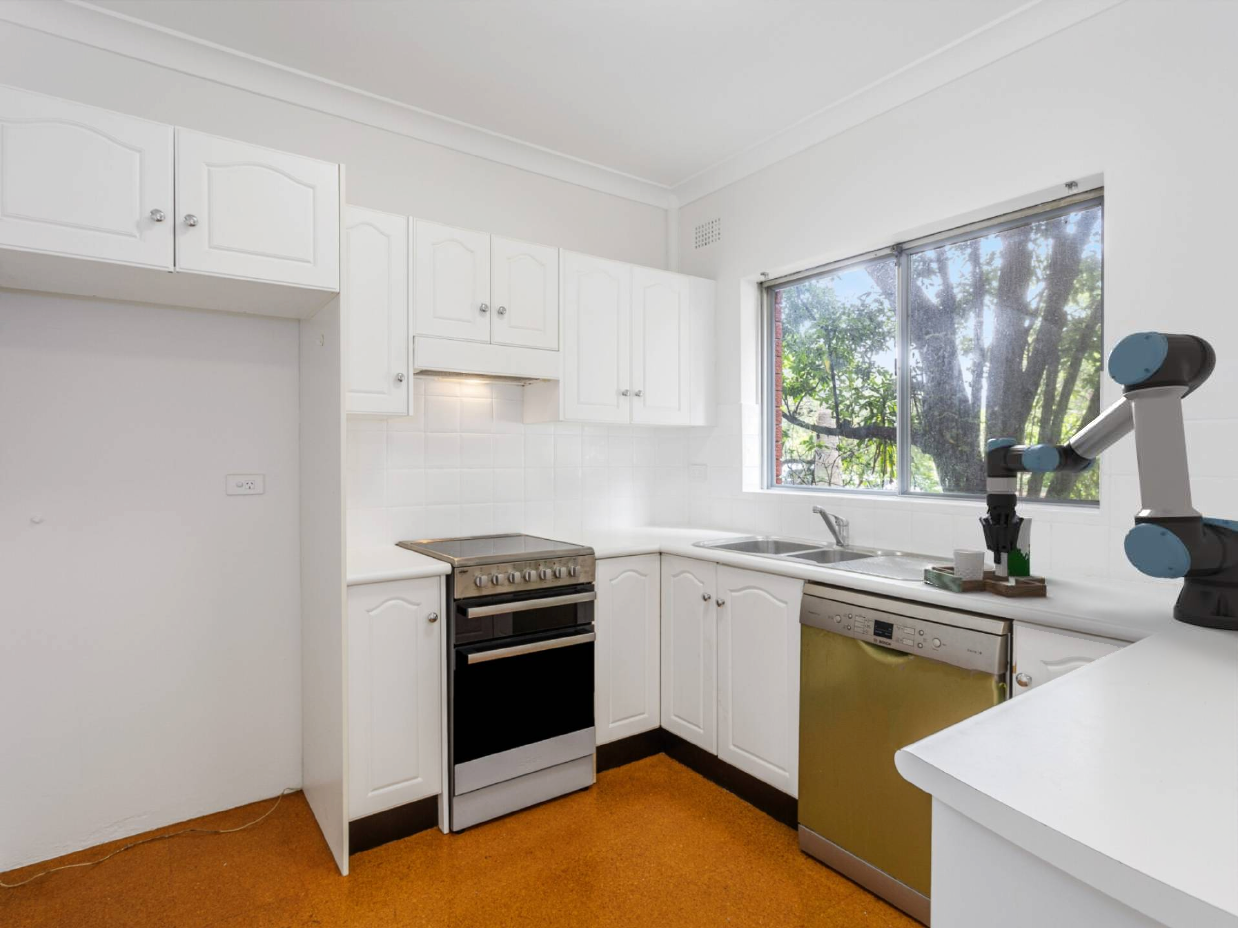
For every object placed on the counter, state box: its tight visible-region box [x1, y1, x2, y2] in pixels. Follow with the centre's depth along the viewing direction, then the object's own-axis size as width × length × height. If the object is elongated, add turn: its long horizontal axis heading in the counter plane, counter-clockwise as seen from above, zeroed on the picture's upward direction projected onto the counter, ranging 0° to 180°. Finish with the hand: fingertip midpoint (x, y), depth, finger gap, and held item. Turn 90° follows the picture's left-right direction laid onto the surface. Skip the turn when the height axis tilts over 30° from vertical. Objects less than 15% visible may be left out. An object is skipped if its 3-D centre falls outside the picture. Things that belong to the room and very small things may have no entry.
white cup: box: [952, 548, 985, 580], centre depth 190 cm, size 8×8×10 cm
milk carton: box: [1007, 515, 1033, 577], centre depth 211 cm, size 9×9×20 cm
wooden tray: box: [923, 565, 1047, 599], centre depth 191 cm, size 31×27×4 cm
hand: (1001, 575), depth 191 cm, fingers closed
